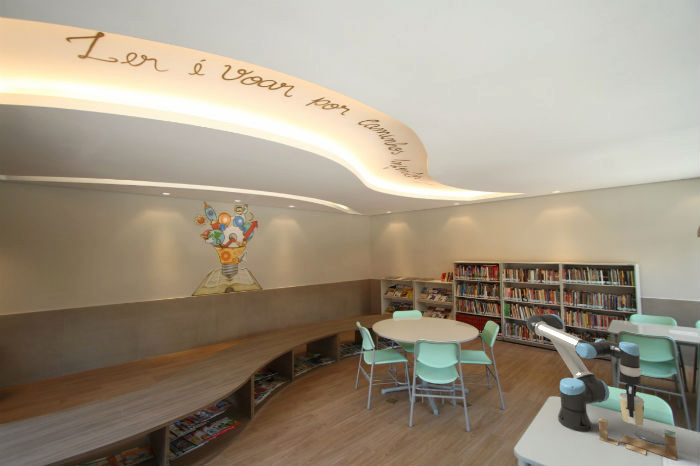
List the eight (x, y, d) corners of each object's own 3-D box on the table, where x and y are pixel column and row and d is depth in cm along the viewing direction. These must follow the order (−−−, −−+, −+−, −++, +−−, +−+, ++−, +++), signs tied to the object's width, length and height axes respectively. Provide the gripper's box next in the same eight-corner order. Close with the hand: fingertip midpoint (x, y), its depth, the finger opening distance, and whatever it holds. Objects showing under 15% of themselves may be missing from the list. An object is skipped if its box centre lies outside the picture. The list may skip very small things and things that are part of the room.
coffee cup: (650, 427, 147) (649, 402, 148) (627, 425, 149) (626, 400, 150) (637, 417, 156) (635, 393, 157) (615, 415, 158) (614, 391, 159)
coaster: (633, 436, 157) (633, 436, 157) (635, 427, 165) (635, 426, 165) (667, 447, 148) (667, 446, 148) (667, 436, 156) (667, 436, 156)
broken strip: (599, 439, 155) (598, 420, 155) (600, 436, 158) (599, 417, 158) (645, 455, 143) (644, 434, 143) (646, 451, 145) (644, 431, 146)
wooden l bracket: (621, 442, 152) (619, 421, 153) (622, 435, 158) (621, 415, 159) (677, 460, 138) (675, 437, 139) (677, 452, 144) (675, 430, 145)
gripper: (639, 383, 144) (641, 431, 143) (641, 370, 158) (644, 413, 157) (618, 378, 149) (620, 424, 148) (622, 365, 164) (624, 408, 163)
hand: (632, 419), depth 153 cm, fingers closed on coffee cup, 9 cm apart
